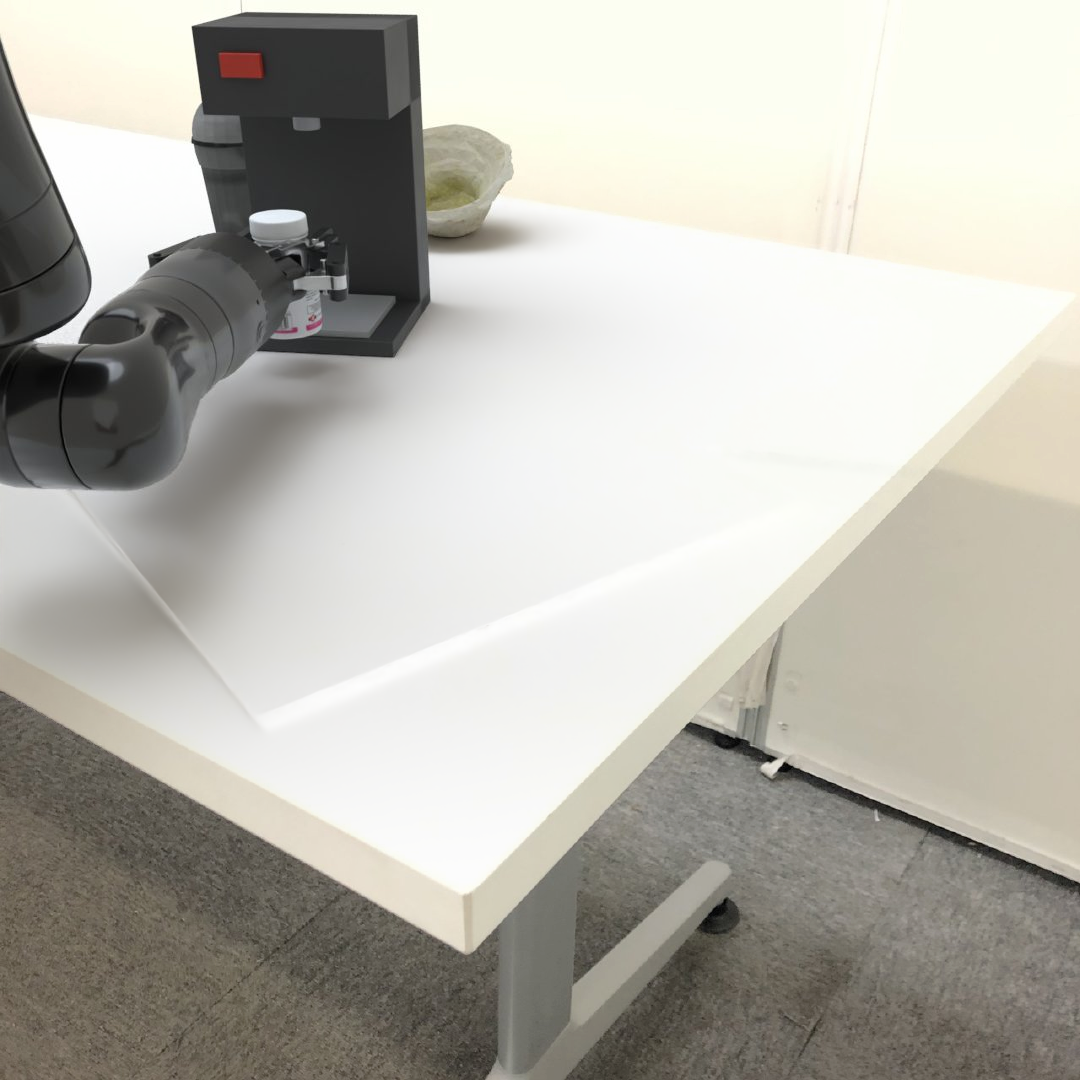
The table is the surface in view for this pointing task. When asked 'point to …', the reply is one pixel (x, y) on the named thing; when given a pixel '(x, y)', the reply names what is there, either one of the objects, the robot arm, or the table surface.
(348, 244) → the coffee maker
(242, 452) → the table surface
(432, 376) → the table surface
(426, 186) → the bowl
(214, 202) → the beverage cup
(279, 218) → the pill bottle
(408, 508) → the table surface
